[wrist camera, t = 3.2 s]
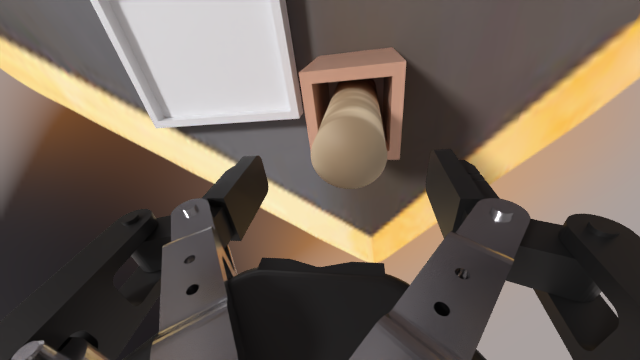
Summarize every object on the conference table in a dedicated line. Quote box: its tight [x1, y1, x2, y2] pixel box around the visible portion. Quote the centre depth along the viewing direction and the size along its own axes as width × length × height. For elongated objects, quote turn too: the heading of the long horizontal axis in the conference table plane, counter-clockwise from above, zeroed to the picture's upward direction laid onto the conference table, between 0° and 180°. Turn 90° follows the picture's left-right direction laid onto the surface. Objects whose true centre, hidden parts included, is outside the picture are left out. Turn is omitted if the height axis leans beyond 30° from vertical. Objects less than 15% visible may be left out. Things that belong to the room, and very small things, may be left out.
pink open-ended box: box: [299, 47, 406, 160], centre depth 21 cm, size 7×7×9 cm
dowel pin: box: [311, 78, 387, 189], centre depth 18 cm, size 4×4×14 cm
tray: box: [90, 0, 303, 128], centre depth 24 cm, size 18×14×2 cm
